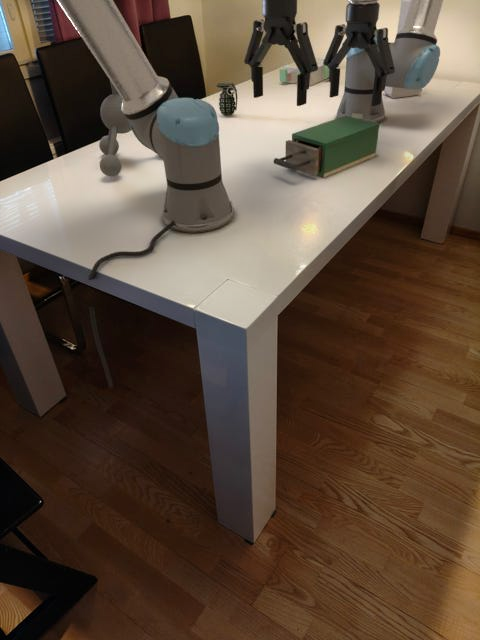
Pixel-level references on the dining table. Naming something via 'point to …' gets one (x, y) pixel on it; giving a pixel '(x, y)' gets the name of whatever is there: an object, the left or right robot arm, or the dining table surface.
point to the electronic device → (404, 9)
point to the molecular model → (112, 132)
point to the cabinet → (342, 142)
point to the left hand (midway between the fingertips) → (279, 100)
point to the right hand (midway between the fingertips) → (354, 100)
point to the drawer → (302, 157)
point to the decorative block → (291, 72)
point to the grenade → (227, 99)
